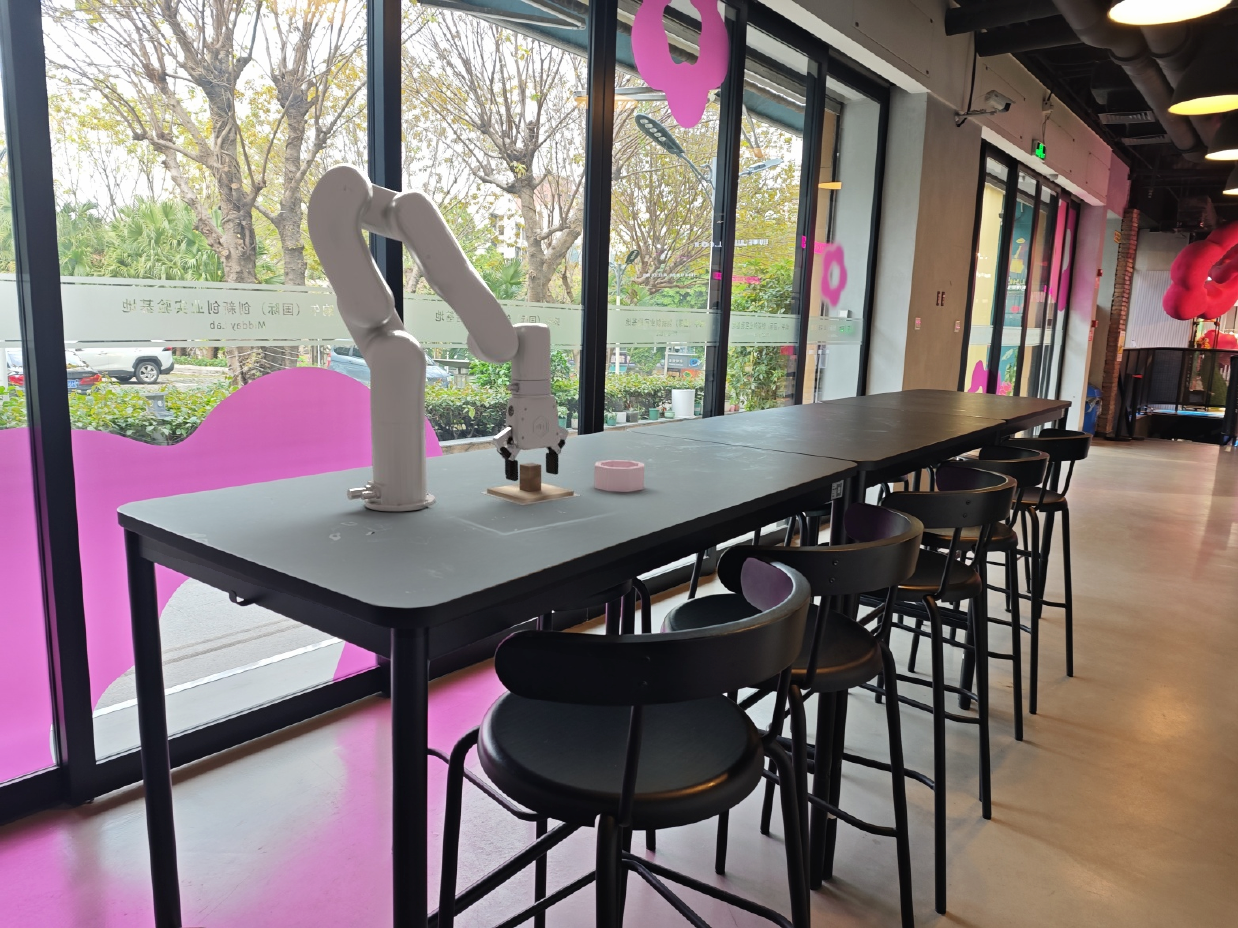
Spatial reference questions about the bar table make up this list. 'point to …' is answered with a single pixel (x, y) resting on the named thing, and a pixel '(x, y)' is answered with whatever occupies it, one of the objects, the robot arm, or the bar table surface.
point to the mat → (529, 502)
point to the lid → (530, 487)
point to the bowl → (619, 475)
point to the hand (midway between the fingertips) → (532, 476)
